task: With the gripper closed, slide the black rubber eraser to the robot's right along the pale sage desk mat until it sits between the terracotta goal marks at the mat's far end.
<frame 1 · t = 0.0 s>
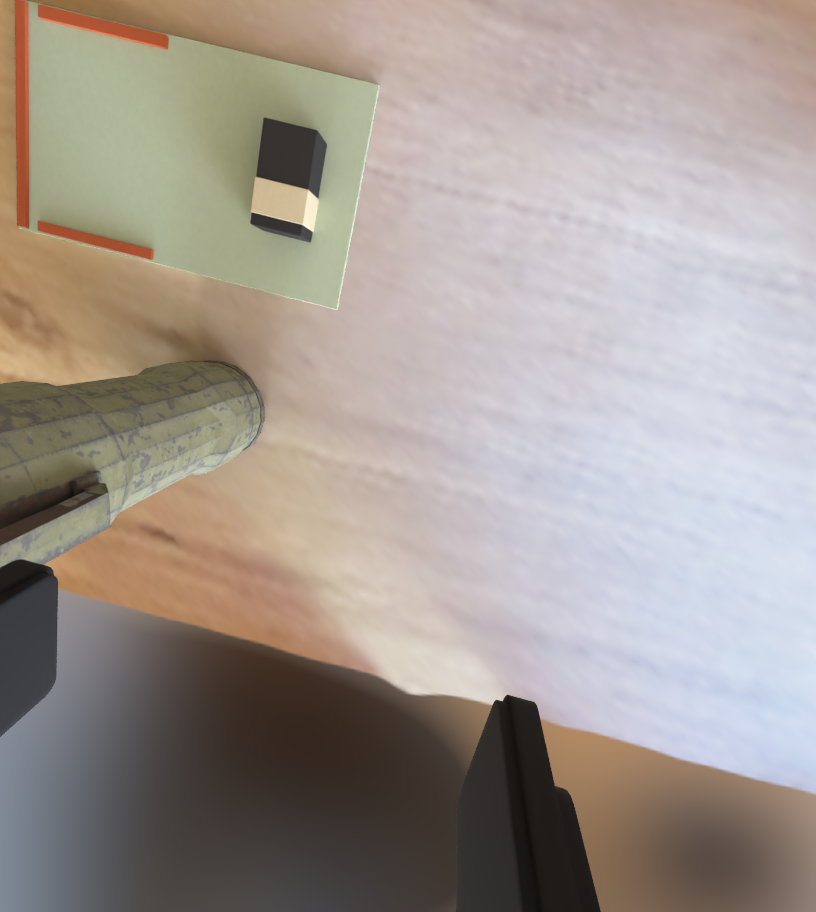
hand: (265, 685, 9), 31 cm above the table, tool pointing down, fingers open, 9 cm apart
desk mat: (187, 163, 36), on the table
thermos: (220, 408, 41), on the table
eraser: (294, 188, 35), resting on desk mat
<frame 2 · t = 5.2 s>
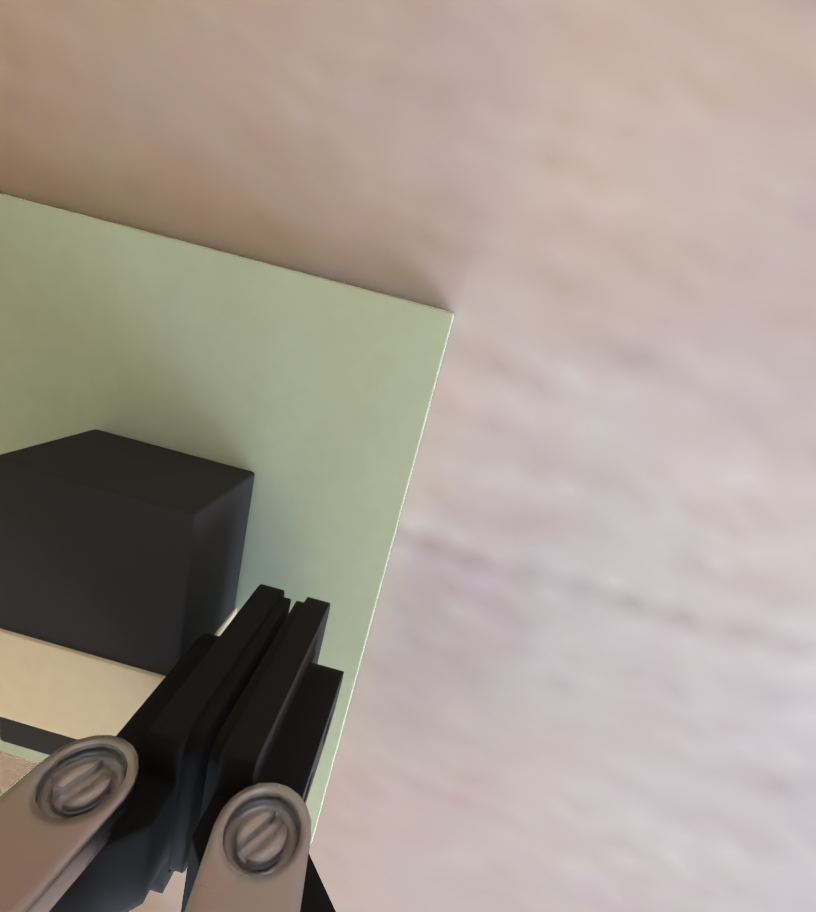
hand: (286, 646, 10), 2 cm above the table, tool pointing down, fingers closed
eraser: (163, 576, 12), resting on desk mat, touching gripper
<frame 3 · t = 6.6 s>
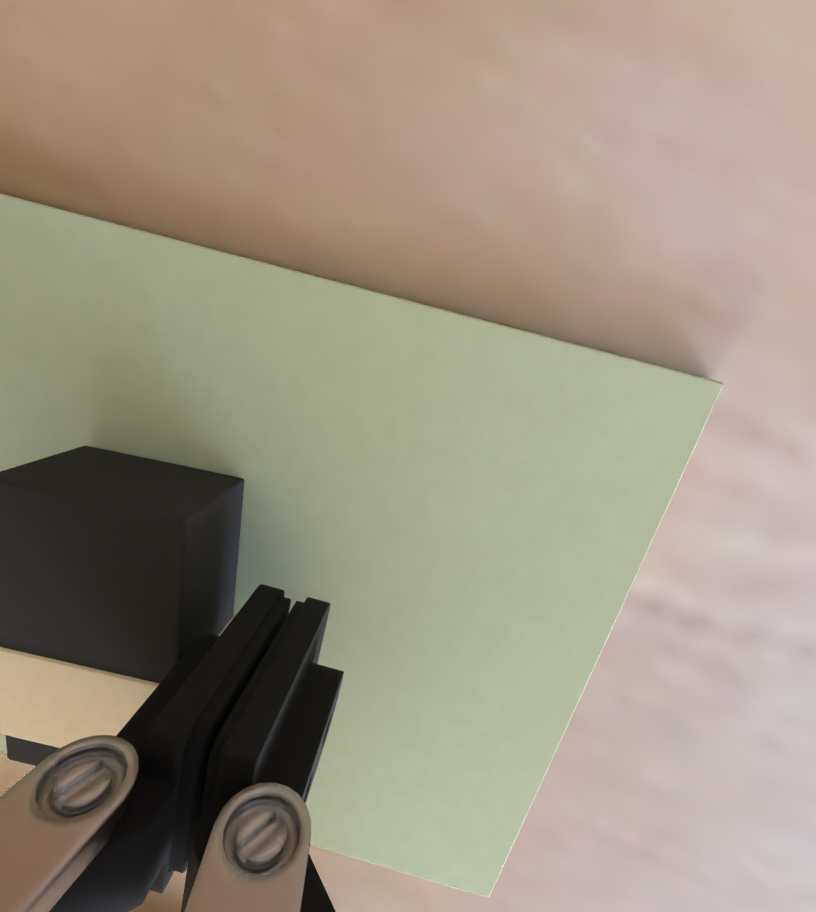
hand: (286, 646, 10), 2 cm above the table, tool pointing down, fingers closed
desk mat: (70, 537, 12), on the table
eraser: (161, 587, 12), resting on desk mat, touching gripper
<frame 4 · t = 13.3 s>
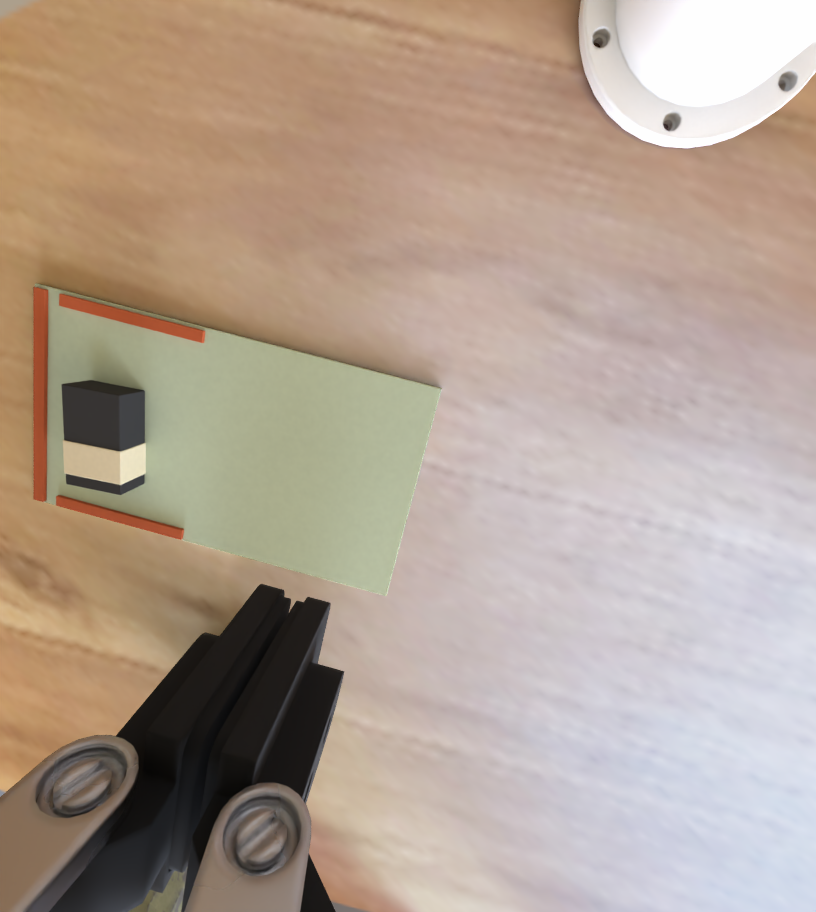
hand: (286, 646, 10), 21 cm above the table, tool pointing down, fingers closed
desk mat: (223, 447, 32), on the table
thermos: (254, 674, 37), on the table
eraser: (118, 433, 32), resting on desk mat
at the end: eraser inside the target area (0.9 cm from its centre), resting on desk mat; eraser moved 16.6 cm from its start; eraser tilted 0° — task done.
